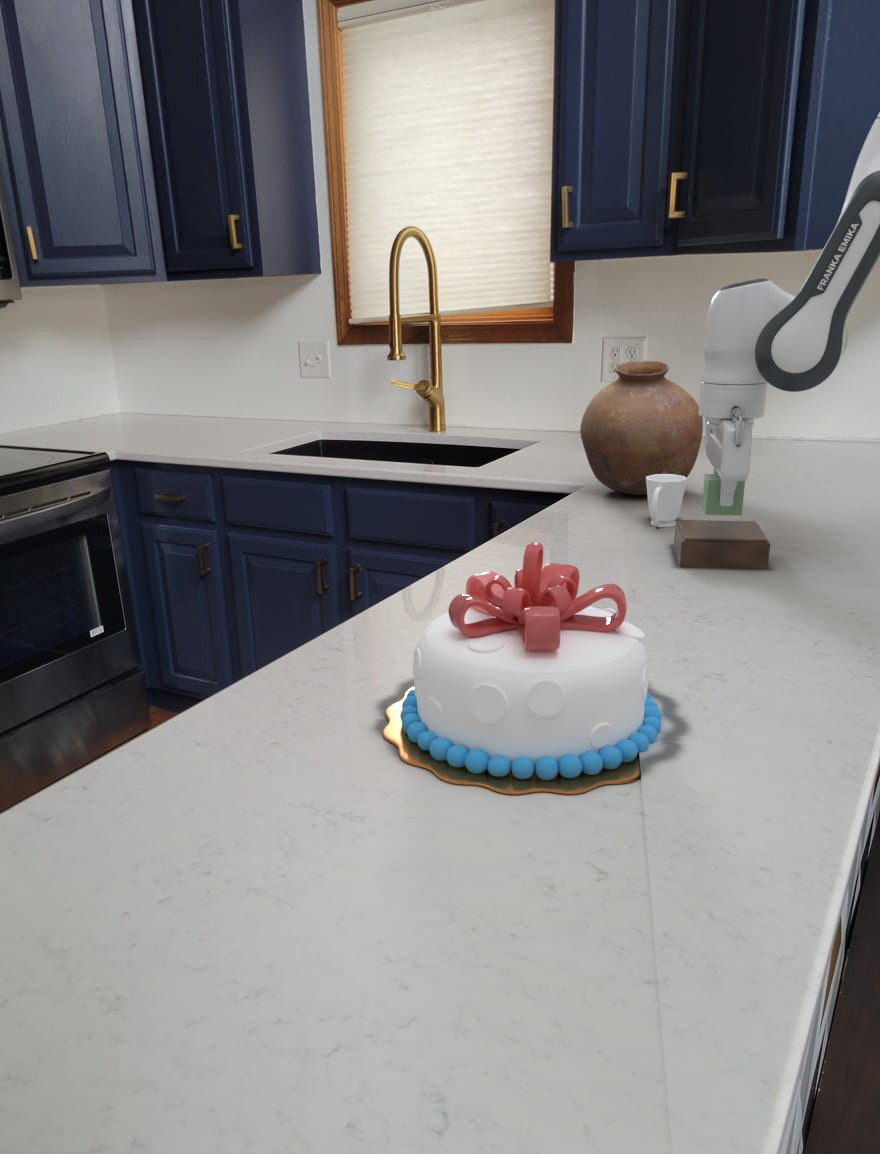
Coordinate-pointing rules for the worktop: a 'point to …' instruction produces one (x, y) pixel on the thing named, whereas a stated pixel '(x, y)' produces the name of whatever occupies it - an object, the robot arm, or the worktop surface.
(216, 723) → the worktop surface
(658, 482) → the cup
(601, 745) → the wedding cake
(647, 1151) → the worktop surface
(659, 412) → the pottery
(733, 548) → the block
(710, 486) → the block
